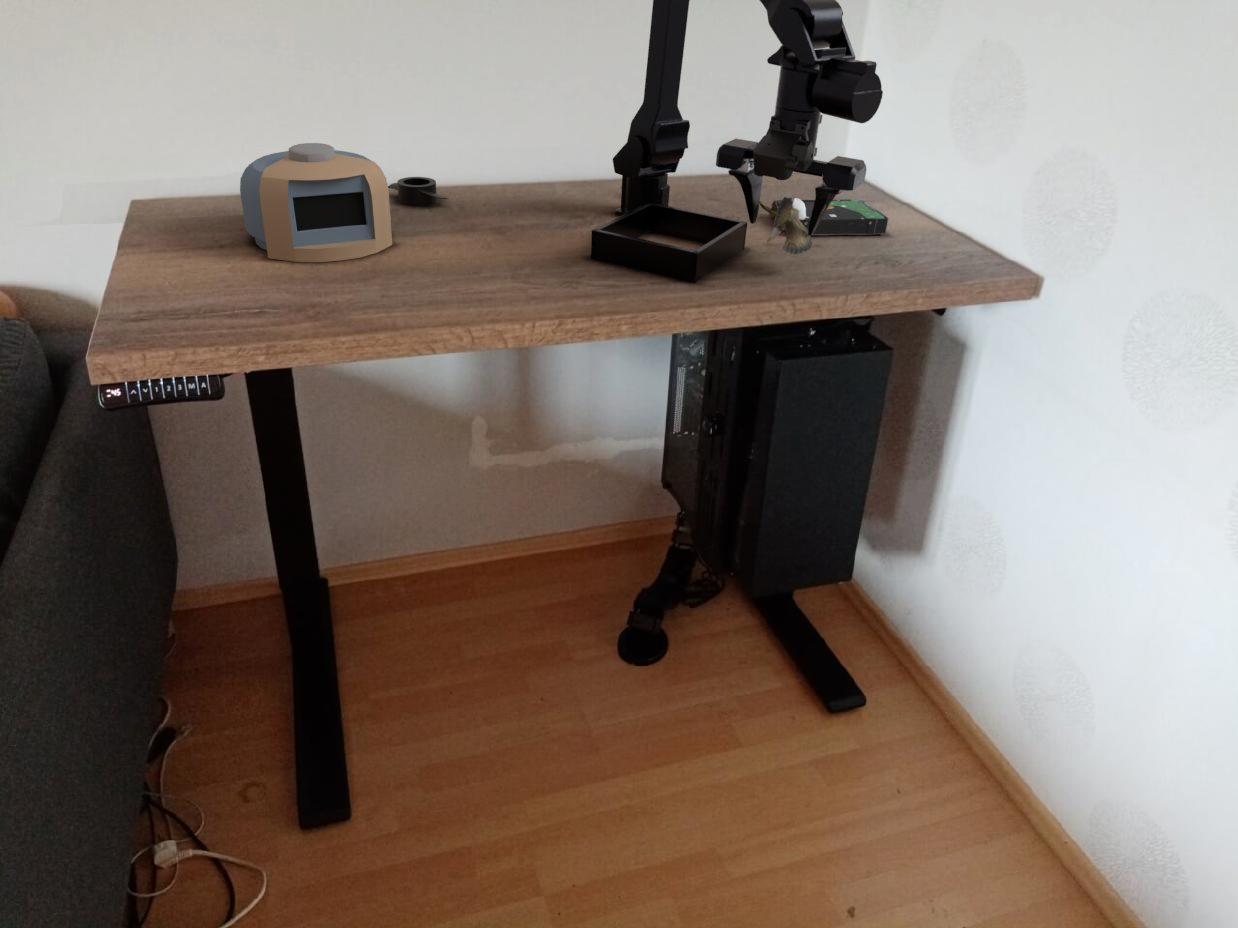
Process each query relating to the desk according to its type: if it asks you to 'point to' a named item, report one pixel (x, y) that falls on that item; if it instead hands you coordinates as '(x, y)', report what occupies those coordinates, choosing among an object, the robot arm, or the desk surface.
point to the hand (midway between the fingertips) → (781, 228)
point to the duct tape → (416, 191)
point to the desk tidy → (627, 250)
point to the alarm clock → (316, 204)
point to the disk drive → (846, 218)
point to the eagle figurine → (790, 224)
